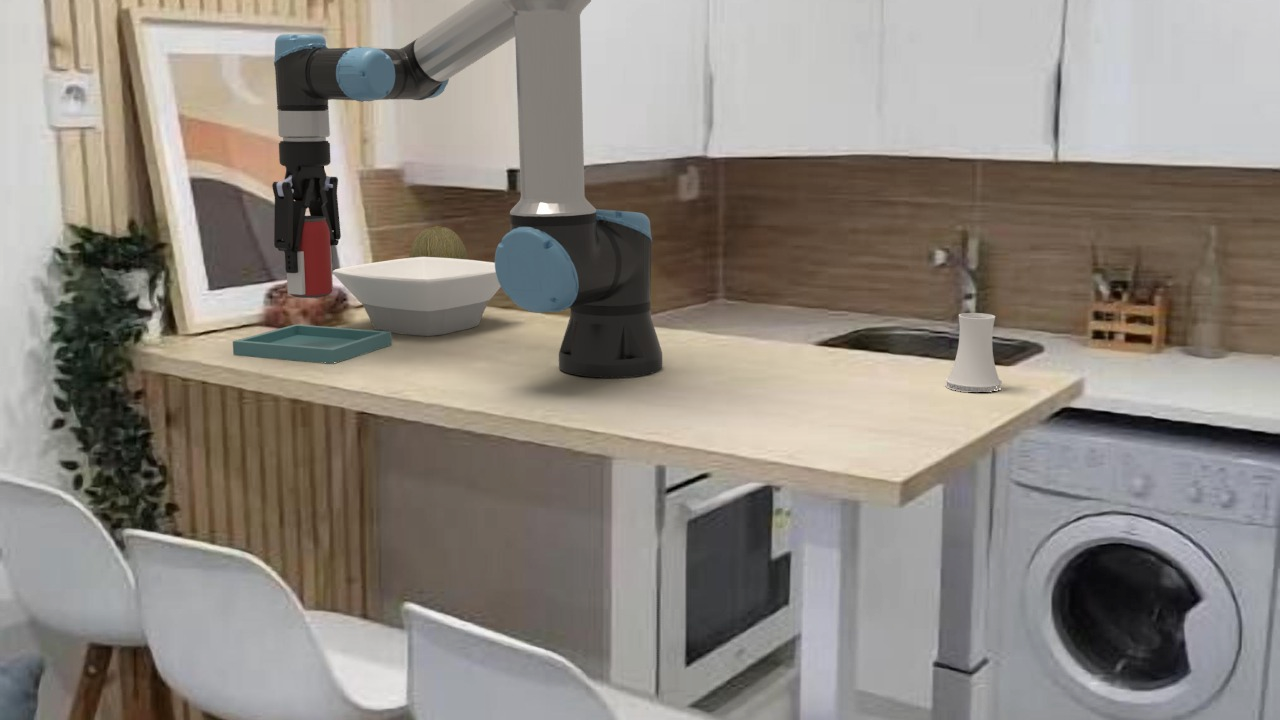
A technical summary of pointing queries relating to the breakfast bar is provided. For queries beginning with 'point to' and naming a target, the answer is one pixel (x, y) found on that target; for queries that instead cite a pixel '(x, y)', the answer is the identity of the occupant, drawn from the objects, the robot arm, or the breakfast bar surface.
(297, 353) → the tray
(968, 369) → the cooling tower model
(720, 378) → the breakfast bar surface
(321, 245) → the beer can
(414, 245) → the fruit
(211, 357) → the breakfast bar surface
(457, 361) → the breakfast bar surface
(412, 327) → the bowl
